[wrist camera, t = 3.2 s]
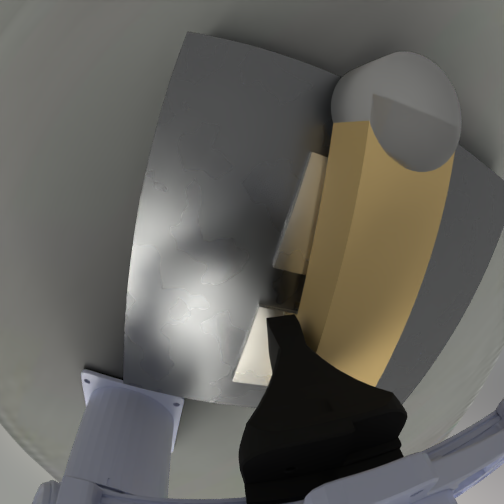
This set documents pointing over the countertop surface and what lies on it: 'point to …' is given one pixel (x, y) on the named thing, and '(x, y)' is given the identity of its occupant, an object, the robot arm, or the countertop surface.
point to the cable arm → (378, 209)
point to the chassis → (265, 228)
